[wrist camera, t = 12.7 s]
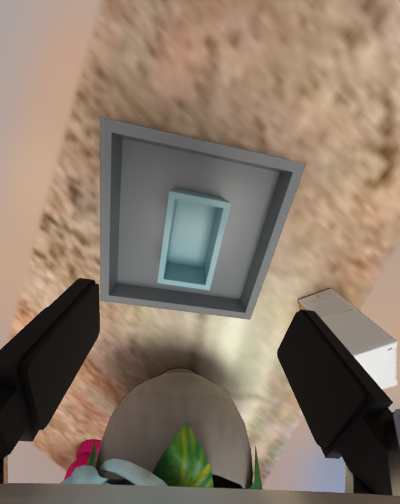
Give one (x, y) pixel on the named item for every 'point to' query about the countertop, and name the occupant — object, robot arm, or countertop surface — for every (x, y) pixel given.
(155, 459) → the flower arrangement
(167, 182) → the gray square tray
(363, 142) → the countertop surface
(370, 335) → the small box
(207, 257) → the small crate
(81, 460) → the pepper mill
